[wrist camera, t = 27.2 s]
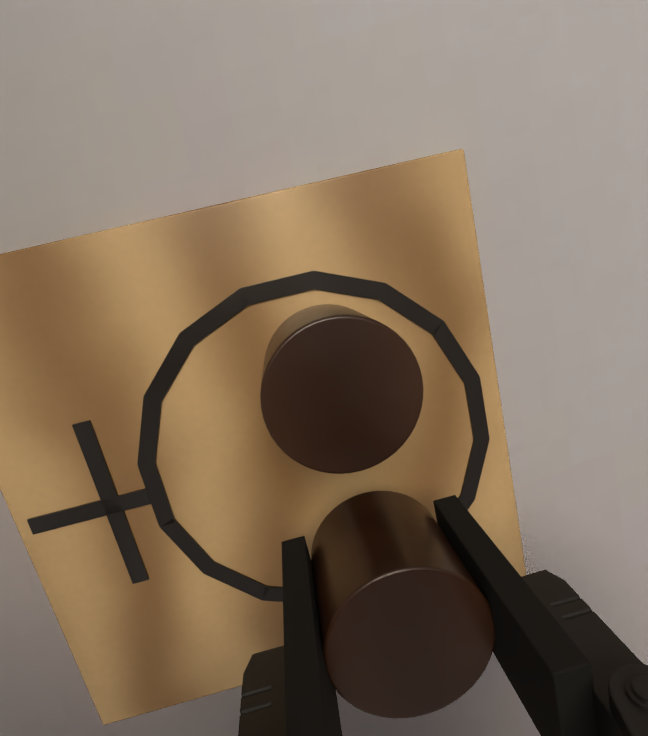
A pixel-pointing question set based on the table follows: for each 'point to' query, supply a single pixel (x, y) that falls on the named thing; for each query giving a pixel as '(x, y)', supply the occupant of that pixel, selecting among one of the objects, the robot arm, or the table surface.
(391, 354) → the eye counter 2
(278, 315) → the drawing board
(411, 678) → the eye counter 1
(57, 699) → the table surface
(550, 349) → the table surface
